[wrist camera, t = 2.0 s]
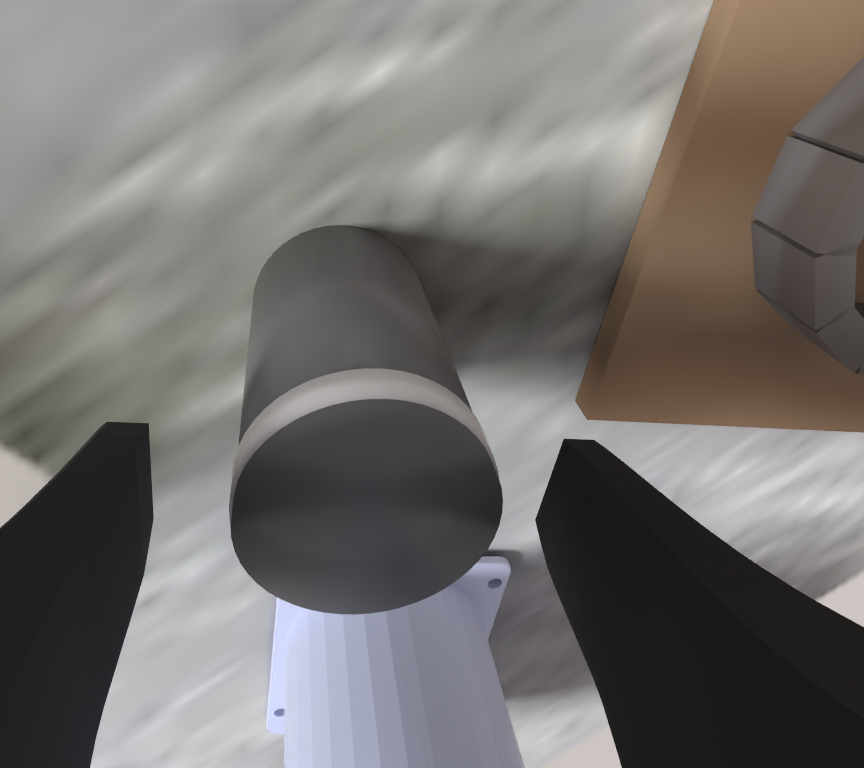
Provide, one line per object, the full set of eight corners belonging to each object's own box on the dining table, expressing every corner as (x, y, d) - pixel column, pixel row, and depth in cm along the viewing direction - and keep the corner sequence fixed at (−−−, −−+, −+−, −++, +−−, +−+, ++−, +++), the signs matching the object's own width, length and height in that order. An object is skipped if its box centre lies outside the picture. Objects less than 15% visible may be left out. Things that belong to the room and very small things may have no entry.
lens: (410, 384, 19) (474, 612, 12) (248, 374, 18) (224, 619, 11) (438, 234, 17) (535, 417, 10) (255, 213, 16) (230, 403, 9)
